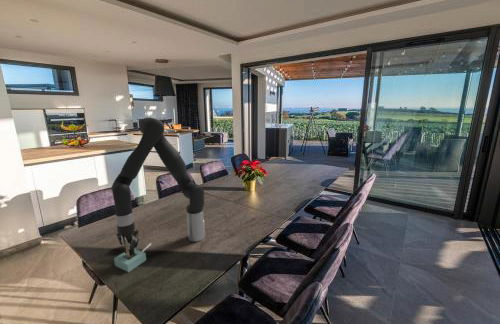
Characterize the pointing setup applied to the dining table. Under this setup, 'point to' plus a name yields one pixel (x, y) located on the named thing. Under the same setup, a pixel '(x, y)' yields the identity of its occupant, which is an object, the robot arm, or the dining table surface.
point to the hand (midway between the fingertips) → (129, 253)
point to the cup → (135, 234)
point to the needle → (128, 251)
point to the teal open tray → (130, 264)
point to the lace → (146, 247)
